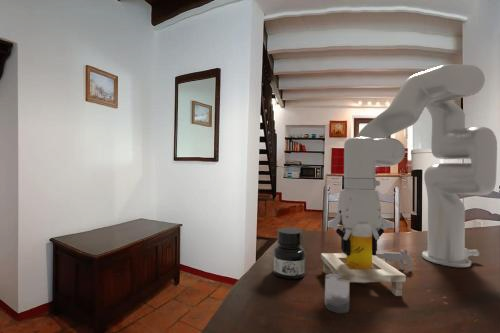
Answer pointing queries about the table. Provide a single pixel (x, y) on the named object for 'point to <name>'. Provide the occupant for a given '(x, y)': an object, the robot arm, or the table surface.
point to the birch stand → (364, 271)
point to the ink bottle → (289, 254)
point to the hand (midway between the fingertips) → (359, 253)
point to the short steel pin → (337, 293)
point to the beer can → (360, 247)
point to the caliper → (397, 258)
